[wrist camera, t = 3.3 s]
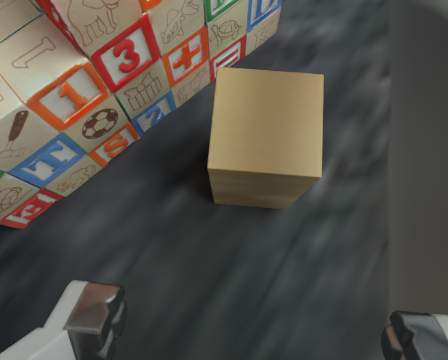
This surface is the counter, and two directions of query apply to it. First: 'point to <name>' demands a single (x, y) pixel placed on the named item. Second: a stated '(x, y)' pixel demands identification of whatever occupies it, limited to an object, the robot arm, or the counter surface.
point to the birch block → (265, 136)
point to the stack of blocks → (103, 82)
